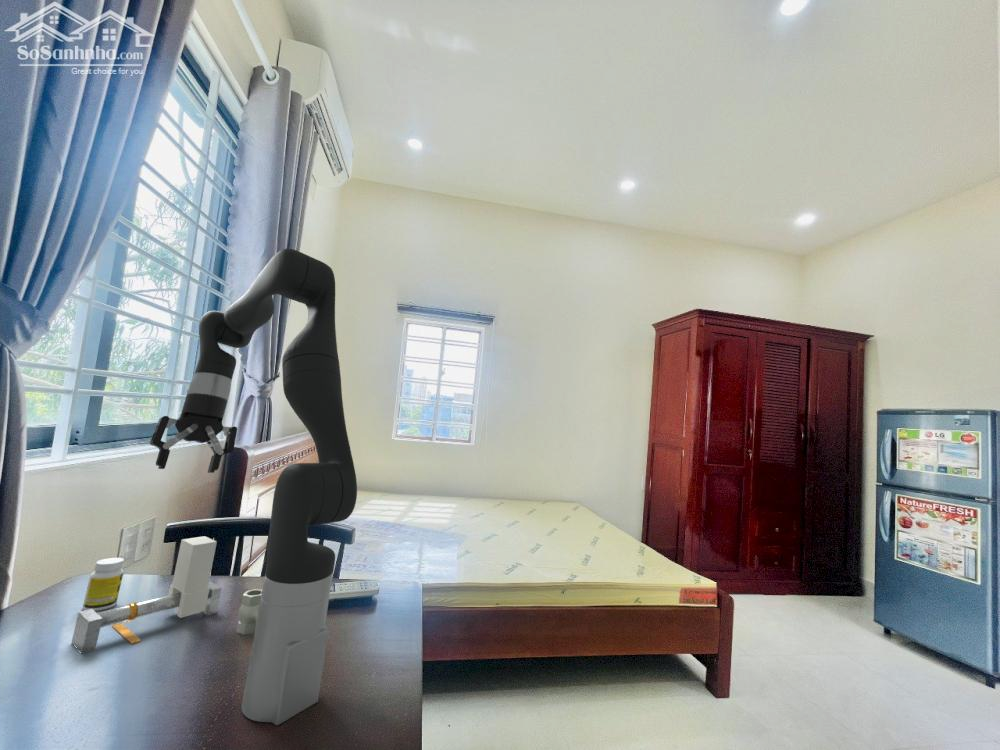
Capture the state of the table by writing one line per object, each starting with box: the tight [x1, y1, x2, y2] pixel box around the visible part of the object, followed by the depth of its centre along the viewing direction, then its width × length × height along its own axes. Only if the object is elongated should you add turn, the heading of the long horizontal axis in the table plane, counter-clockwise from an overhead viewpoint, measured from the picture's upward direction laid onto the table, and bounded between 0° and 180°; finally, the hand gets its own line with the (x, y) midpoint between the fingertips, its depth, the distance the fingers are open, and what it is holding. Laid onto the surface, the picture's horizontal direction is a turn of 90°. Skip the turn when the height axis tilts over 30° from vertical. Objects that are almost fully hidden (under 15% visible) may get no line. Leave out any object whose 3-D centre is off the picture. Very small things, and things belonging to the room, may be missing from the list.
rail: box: [71, 580, 222, 655], centre depth 71 cm, size 19×9×5 cm, turn 150°
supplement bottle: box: [82, 557, 125, 612], centre depth 77 cm, size 5×5×8 cm
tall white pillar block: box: [167, 535, 218, 619], centre depth 76 cm, size 4×6×13 cm, turn 60°
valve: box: [235, 588, 263, 636], centre depth 72 cm, size 7×7×12 cm
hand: (187, 470), depth 82 cm, fingers open, 8 cm apart
